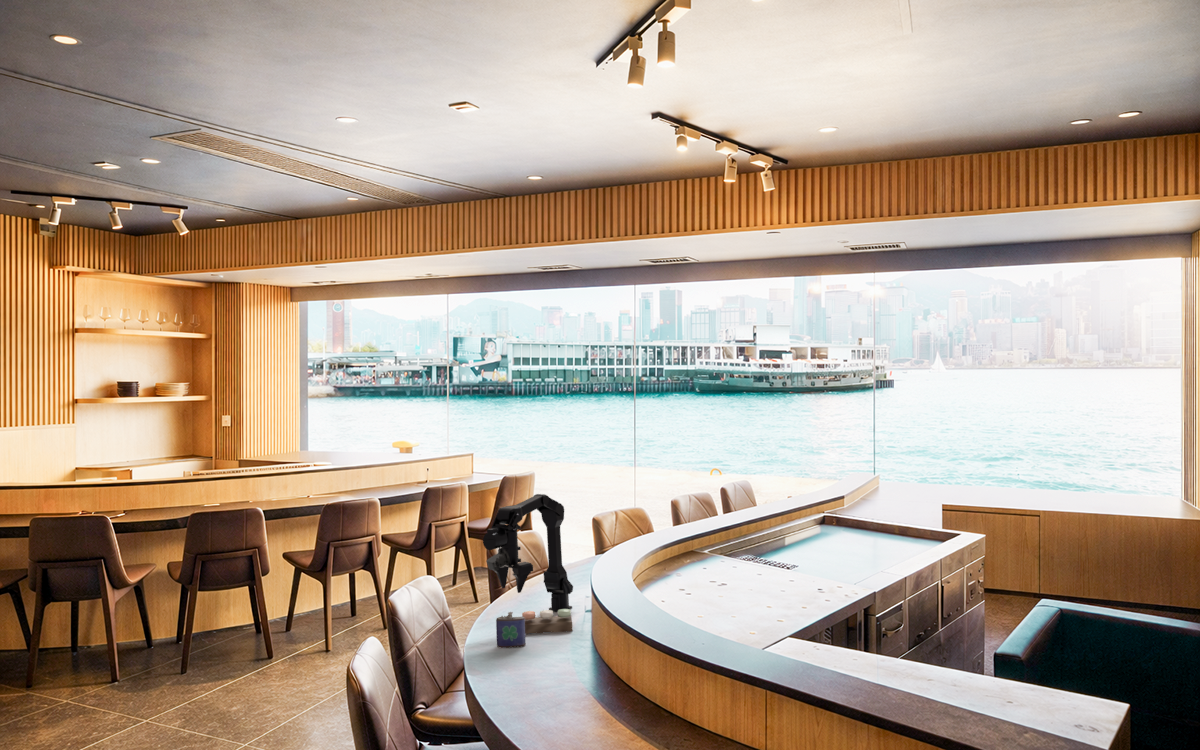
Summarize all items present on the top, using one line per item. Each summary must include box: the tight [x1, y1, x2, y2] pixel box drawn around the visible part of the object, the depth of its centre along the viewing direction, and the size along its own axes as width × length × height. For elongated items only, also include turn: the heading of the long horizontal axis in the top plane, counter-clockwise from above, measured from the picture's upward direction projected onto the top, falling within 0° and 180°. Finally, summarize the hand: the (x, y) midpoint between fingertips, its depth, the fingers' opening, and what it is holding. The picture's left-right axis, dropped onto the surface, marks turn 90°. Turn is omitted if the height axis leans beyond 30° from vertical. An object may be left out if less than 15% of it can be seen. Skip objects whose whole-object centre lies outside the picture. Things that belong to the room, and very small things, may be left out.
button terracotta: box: [521, 610, 536, 620], centre depth 244 cm, size 4×4×2 cm
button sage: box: [557, 608, 572, 617], centre depth 245 cm, size 4×4×2 cm
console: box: [525, 615, 573, 635], centre depth 244 cm, size 17×8×3 cm, turn 94°
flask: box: [495, 611, 526, 649], centre depth 228 cm, size 9×3×11 cm, turn 87°
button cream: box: [539, 609, 554, 619], centre depth 244 cm, size 4×4×2 cm
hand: (511, 590), depth 245 cm, fingers open, 9 cm apart
